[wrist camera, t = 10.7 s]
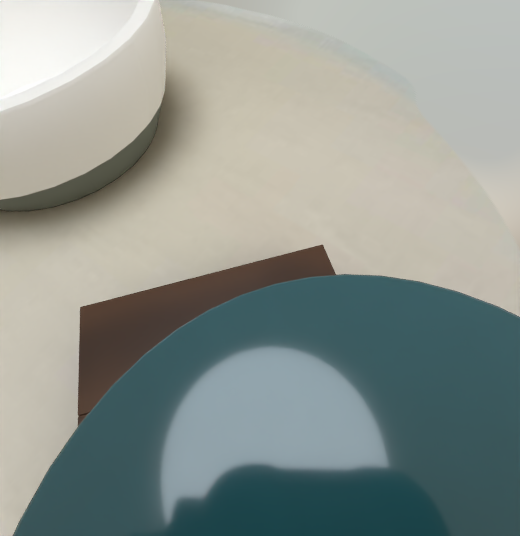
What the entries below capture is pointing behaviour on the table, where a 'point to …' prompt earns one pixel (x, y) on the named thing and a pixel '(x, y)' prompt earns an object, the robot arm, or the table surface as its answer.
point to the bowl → (76, 95)
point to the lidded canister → (305, 422)
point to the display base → (170, 315)
